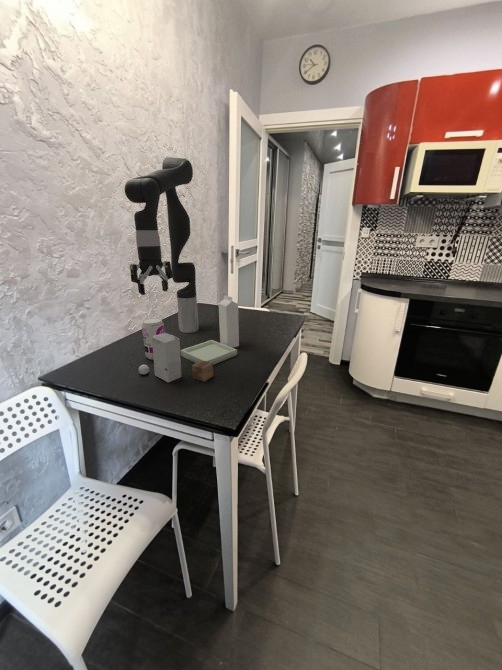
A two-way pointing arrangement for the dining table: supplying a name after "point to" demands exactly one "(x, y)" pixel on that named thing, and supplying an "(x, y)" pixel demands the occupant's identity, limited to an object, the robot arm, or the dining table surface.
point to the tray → (209, 352)
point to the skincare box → (166, 356)
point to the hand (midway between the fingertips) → (154, 292)
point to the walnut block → (202, 370)
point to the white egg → (143, 369)
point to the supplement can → (151, 334)
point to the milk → (228, 322)
